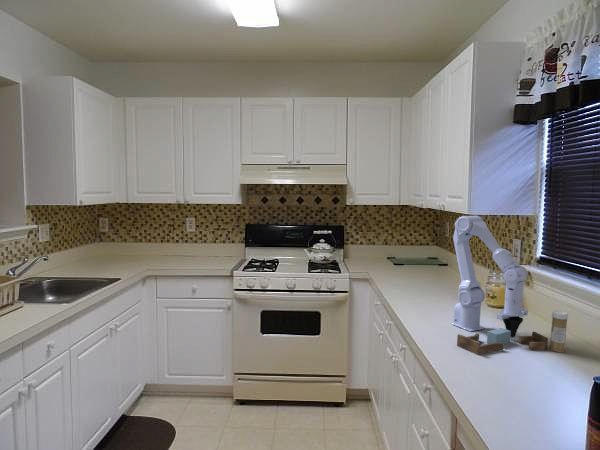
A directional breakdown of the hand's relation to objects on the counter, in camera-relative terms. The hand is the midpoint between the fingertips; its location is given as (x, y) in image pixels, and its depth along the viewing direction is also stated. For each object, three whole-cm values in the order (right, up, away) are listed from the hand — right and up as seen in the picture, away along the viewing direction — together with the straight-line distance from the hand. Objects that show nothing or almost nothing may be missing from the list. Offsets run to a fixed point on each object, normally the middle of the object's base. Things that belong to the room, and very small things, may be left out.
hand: (511, 336), depth 151 cm
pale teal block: (-6, -2, -3) cm, 7 cm away
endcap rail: (-16, -2, -8) cm, 18 cm away
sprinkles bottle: (+12, -3, -8) cm, 14 cm away
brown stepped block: (+4, -2, -5) cm, 7 cm away
